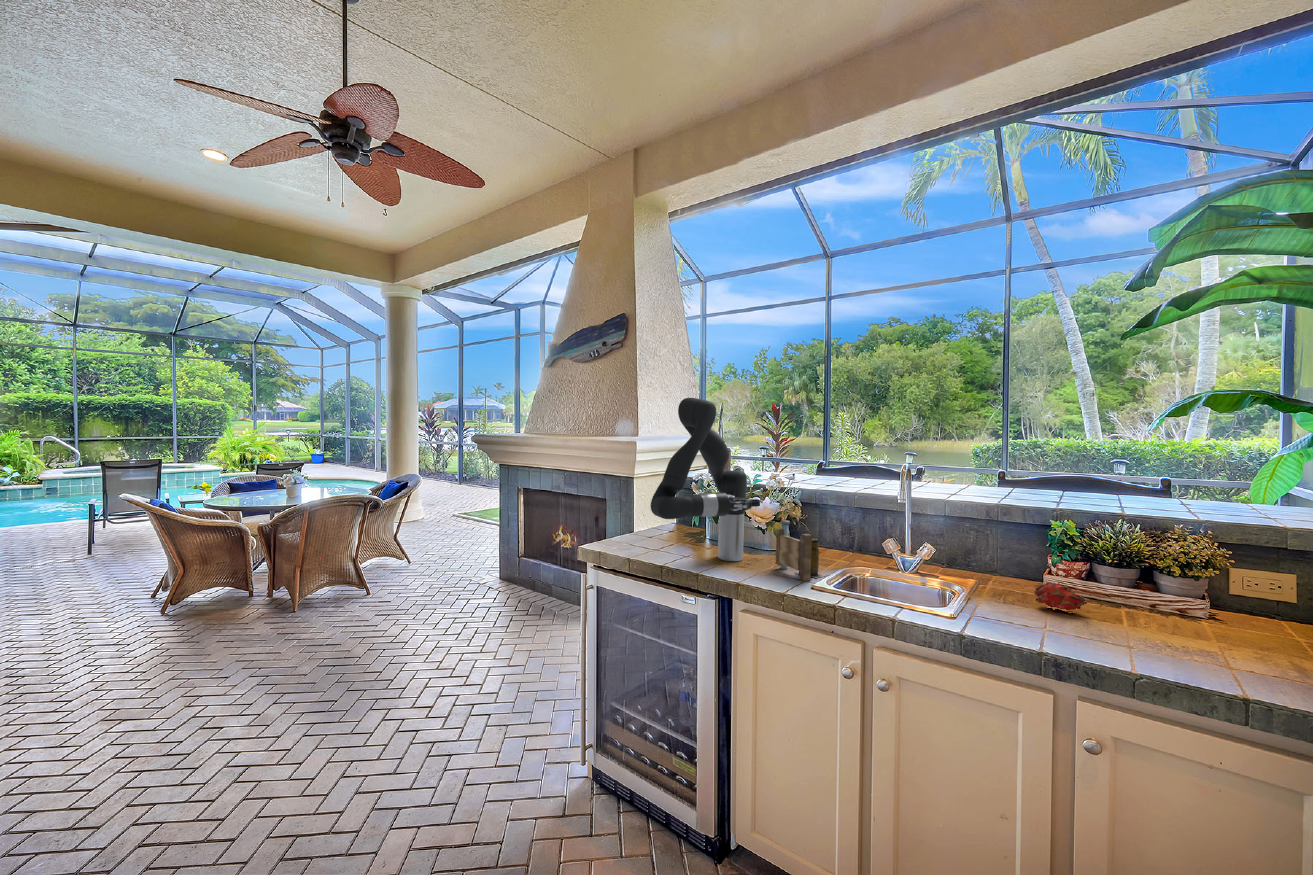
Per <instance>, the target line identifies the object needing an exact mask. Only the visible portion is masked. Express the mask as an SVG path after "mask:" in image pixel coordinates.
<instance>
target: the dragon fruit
mask: <svg viewBox="0 0 1313 875" xmlns="http://www.w3.org/2000/svg"><path fill="white" fill-rule="evenodd" d="M1033 593H1034V595H1035V597H1037V598H1035V601H1036V603H1038V604H1045V606H1046V605H1048V606H1050V607H1057V608H1060V609H1066V610H1069V611H1072V610H1073V611H1074V610H1079V609H1080V610H1081V607H1082V606H1084V605H1087V604H1088V603H1087V601H1086V599H1085V597H1083V596H1082V595H1080V594H1077V593H1075V591H1074V590H1072V588H1070V587H1069V586H1068V585H1067V584H1065V585H1062V584H1061V583H1060V582H1057V583H1056V582H1052V583H1051V582H1050V581H1046V582H1045V583H1043V582H1042V583H1040V585H1038V586H1036V587H1035V590H1033ZM1076 608H1077V609H1076Z"/></svg>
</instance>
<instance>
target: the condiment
mask: <svg viewBox="0 0 1313 875" xmlns="http://www.w3.org/2000/svg"><path fill="white" fill-rule="evenodd" d="M819 556H820V548H819V539H817V538H813V537H812V549H811V576H810V578H814V579H818V578H824V577H827V576H828V574H825V573H821V572H819V564H820V563H819V561H820V557H819ZM794 573H796V574H798V575H799V571H794Z"/></svg>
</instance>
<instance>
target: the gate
mask: <svg viewBox="0 0 1313 875" xmlns="http://www.w3.org/2000/svg"><path fill="white" fill-rule="evenodd" d="M783 531H784V530H783V529H781V528H776V536H775V537H776V544H775V565H777V566H780V565H782V564H784V565H786V566H787V567H789V568H791V569H793V570H796V571H798V572H799V574H798V576H799V577H800V556H801V535H800V536H799V539H798V538H795V537H792V536H789V535H788V536H786V535H783Z"/></svg>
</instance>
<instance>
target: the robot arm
mask: <svg viewBox="0 0 1313 875" xmlns="http://www.w3.org/2000/svg"><path fill="white" fill-rule="evenodd" d="M677 414H678V415H677V416H678V419H679V421H680V422H681V424H682V426H683V427H684V429H685V430H686V431H687V432H688V434H689V436H690V438H689V439H688V440H687V441H686V442H685V443H684V445H682V446H681V447H680V448H679V449H678V450H677V451H676V452H675V453H674V454H673V455H671V456H672V457H670V460H669V462H668V463H667V466H666V469H665V472H664V473H663V474H664V475H663V477H662V480H661V482H660V483H659V485H658V486H657V487H656V489H655V492H654V493H653V496H652V498H651V501H650V512H651V513H652V514H654V516H656V517H658V518H660V519H664V520H676V519H682V518H686V517H687V518H688V517H689V518H694V517H704V518H705V517H706V518H708V517H709V518H710V517H719V523H718V524H719V525H718V539H717V542H718V543H717V558H718V559H719V560H722V561H726V562H727V561H728V562H740V561H742V560H744V539H745V538H744V537H745V536H744V534H745V533H744V532H745V530H744V529H745V511H748V510H751V509H752V508H753V507H756V508H757V507H761V500H760V499H757V498H754V499H749V498H747V488H748V487H747V485H748V484H747V483H748V480H747V479H748V478H747V474H746V473H745V471H742V470H731V469H729V470H728V469H725V468H724V467H725V466H726V465H727V463H728V460H729V458H730V451H729V448H728V446H727V444H726V442H725V440H724V438H723V437H722V436H721V435H720V434H719V433H718V432H717V431H715V430H714V429H713V426H714V425H713V424H714V423H715V420H716V417H717V407H716V404H715V403H714V402H712V401H710V400H707V399H701V398H697V397H686V398H683V399H682V400H680V403H678V409H677ZM698 453H700V454H701V456H702V459H703V460H704V462H705V464H706V465H707V466H706V467H708V469H709V472H710V474H711V477H712V479H713V482H714V485H715V487H716V489H717V491H718V492H705V493H704V492H703V493H696V494H684V495H682V496H681V495H680V496H679V495H677V494H678V492H679V491H682V490H683V488H684V486H685V484H686V482H687V479H688V475H689V472H690V471H691V468H692V465H693V463H694V460H695V459H696V457H697V455H698ZM676 495H677V496H676ZM728 495H729V496H728Z"/></svg>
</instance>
